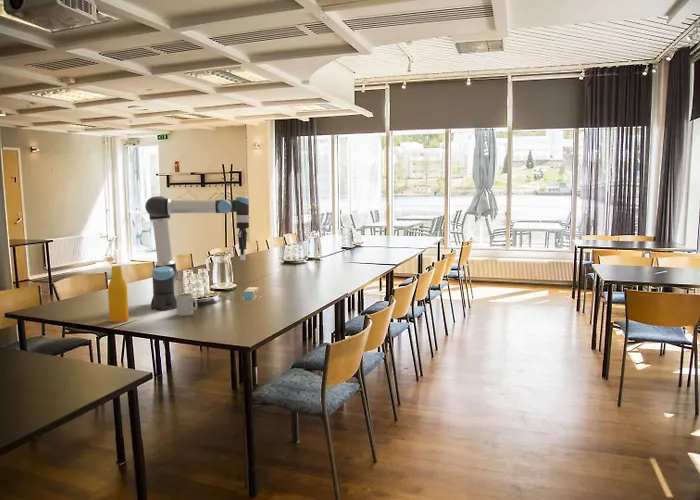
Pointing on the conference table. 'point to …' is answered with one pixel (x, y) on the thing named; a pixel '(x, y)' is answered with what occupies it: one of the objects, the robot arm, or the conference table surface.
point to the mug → (185, 304)
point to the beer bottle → (117, 297)
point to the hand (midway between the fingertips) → (242, 259)
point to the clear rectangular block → (250, 293)
